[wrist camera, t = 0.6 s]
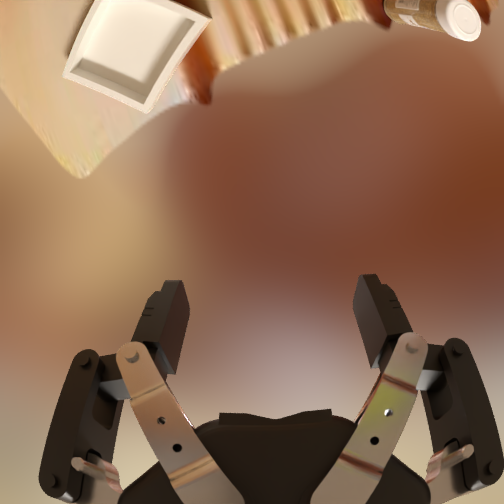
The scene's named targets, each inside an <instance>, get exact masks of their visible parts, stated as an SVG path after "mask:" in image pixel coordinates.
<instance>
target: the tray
mask: <svg viewBox="0 0 504 504" xmlns="http://www.w3.org/2000/svg"><path fill="white" fill-rule="evenodd" d="M211 20H212V18H210V17H208V16H206V15H204V14H202V13H200V12H198V11H196V10H194V9H191V8H189V7H187V6H185V5H183V4H180V3H178V2H176V1H173V0H95V1H94V3H93V5H92V7H91V8H90V10H89V12H88V14H87V16H86V18H85V20H84V22H83V24H82V27H81V29H80V31H79V33H78V35H77V38H76V40H75V42H74V45H73V47H72V50H71V52H70V55H69V58H68V60H67V63H66V66H65V69H64V72H63V74H62V77H64V78H66V79H69V80H71V81H74V82H76V83H79V84H81V85H84V86H86V87H88V88H91V89H93V90H95V91H98V92H100V93H102V94H105V95H107V96H109V97H111V98H114V99H116V100H118V101H120V102H122V103H124V104H127V105H129V106H131V107H133V108H135V109H137V110H139V111H141V112H143V113H145V114H148V113H149V112H150V110H151V109H152V108H153V107H154V106H155V104H156V102H157V101H158V99H159V97H160V95H161V94H162V92H163V90H164V88H165V87H166V85H167V83H168V82H169V80H170V78H171V77H172V75H173V74H174V72H175V70H176V69H177V67H178V66H179V64H180V63H181V61H182V60H183V58H184V57H185V55H186V54H187V52H188V51H189V49H190V48H191V47H192V45H193V44H194V42H195V41H196V40H197V38H198V37H199V36H200V34H201V33H202V32H203V30H204V29H205V28H206V26H207V25H208V24H209V22H210V21H211Z"/></svg>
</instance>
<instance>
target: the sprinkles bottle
mask: <svg viewBox="0 0 504 504" xmlns="http://www.w3.org/2000/svg"><path fill="white" fill-rule="evenodd" d="M384 10H385V12H386V14H387V15H388V16H389V17H390V18H391V19H392V20H393V21H395V22H397V23H400V24H410V25H413V26H418V27H423V28H427V29H432V30H437V31H441V32H445V33H448V34H449V35H451V36H453V37H456V38H458V39H462V40H465V41H473V40H475V39H477V38H478V36H479V35H480V32H481V21H480V17H479V15H478V13H477V11H476V9H475V8H474V7H473V5H472V4H471V3H469V2H468V1H467V0H384Z"/></svg>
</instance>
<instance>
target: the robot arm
mask: <svg viewBox="0 0 504 504" xmlns="http://www.w3.org/2000/svg"><path fill="white" fill-rule="evenodd" d="M353 310H354V314H355V317H356V320H357V323H358V327H359V329H360V333H361V336H362V339H363V343H364V346H365V350H366V353H367V356H368V360H369V363H370V367H371V368H379V369H380V372H381V373H380V374H379V376H378V378H377V381H376V382H375V384H374V386H373V388H372V390H371V392H370V394H369V396H368V398H367V400H366V402H365V404H364V406H363V407H362V409H361V411H360V412H359V414H358V415H357V417H356V419H355V420H354V422H352V421H350V420H348V419H346V418H343V417H339V416H334V415H332V411H331V409H325V410H315V411H305V412H301V413H298V414H294V415H291V416H287V417H284V418H281V419H270V418H265V417H260V416H256V415H251V414H246V413H220V415H219V419H217V420H213V421H209V422H207V423H205V424H202V425H201V426H199V427H197V428H194V426H193V424H192V423H191V422H190V420H189V419H188V417H187V416H186V414H185V413H184V412H183V410H182V408H181V406H180V405H179V403H178V401H177V400H176V398H175V396H174V395H173V393H172V391H171V390H170V388H169V386H168V384H167V382H166V378H167V374H176V370H177V366H178V362H179V357H180V353H181V348H182V345H183V340H184V336H185V332H186V328H187V324H188V320H189V315H190V308H189V302H188V299H187V295H186V292H185V288H184V284H183V282H182V280H166V281H165V282H164V284H163V287H162V289H161V291H155V292H154V293H153V294H152V295H151V297H149V298H148V300H147V303H146V305H145V309H144V310H143V312H142V316H141V318H140V320H139V322H138V325H137V327H136V330H135V332H134V335H133V337H132V340H131V342H129V343H126V344H124V345H123V346H122V347H121V348H120V349H119V350H118V352H117V353H116V354H111V355H105V356H100V357H99V355H98V354H97V353H96V352H95V351H94V350H91V349H86V350H83V351H81V352H79V353H78V354H77V355H76V356H75V357H74V359H73V361H72V364H71V366H70V369H69V371H68V374H67V377H66V380H65V382H64V385H63V388H62V391H61V393H60V397H59V399H58V403H57V405H56V409H55V412H54V415H53V419H52V422H51V425H50V429H49V432H48V436H47V440H46V444H45V448H44V452H43V457H42V461H41V466H40V472H39V483H40V486H41V488H42V490H43V491H44V492H45V493H46V494H47V495H48V496H51V497H53V498H56V499H59V500H62V501H64V502H66V503H69V504H442V503H445V502H447V501H449V500H451V499H453V498H456V497H459V496H462V495H465V494H468V493H471V492H474V491H476V490H479V489H482V488H484V487H487V486H489V485H492V484H494V483H495V482H496V481H498V479H499V478H500V477H501V475H502V473H503V470H504V457H503V452H502V447H501V442H500V438H499V433H498V430H497V426H496V422H495V418H494V415H493V412H492V408H491V405H490V402H489V399H488V395H487V393H486V390H485V387H484V384H483V381H482V379H481V376H480V373H479V371H478V368H477V366H476V363H475V361H474V359H473V356H472V354H471V351H470V349H469V347H468V345H467V344H466V343H465V342H464V341H463V340H461V339H458V338H451V339H449V340H447V342H446V343H445V345H444V346H442V345H434V344H428V343H427V342H426V340H425V339H424V338H423V337H422V336H420V335H419V334H417V333H413V330H412V328H411V326H410V324H409V322H408V319H407V317H406V315H405V313H404V311H403V309H402V308H401V305H400V303H399V301H398V299H397V297H396V295H395V293H394V291H393V290H392V289H391V288H390V287H389V286H388V285H387V284H381V282H380V280H379V278H378V276H377V275H376V274H365V275H360V276H359V278H358V283H357V287H356V291H355V295H354V299H353ZM418 390H420V391H421V395H422V399H423V403H424V407H425V412H426V416H427V420H428V425H429V430H430V435H431V440H432V446H433V452H434V454H433V456H432V457H431V458H430V460H429V462H428V467H427V470H426V471H427V476H426V478H425V480H424V479H423V478H422V477H420V476H419V475H418V474H417V473H415V472H414V471H413V470H411V469H410V468H409V467H407V466H406V465H405V464H404V463H403V462H401V461H400V460H399V459H398V458H397V457H395V456H394V455H393V454H392V452H393V450H394V448H395V446H396V444H397V442H398V440H399V438H400V436H401V434H402V431H403V429H404V427H405V425H406V422H407V420H408V418H409V415H410V413H411V410H412V408H413V405H414V403H415V400H416V397H417V394H418ZM130 398H131V399H130ZM124 399H130V404H131V407H132V409H133V411H134V414H135V415H136V418H137V420H138V422H139V424H140V426H141V428H142V430H143V432H144V434H145V436H146V438H147V440H148V442H149V444H150V446H151V447H152V449H153V451H154V453H155V455H156V457H157V458H158V460H159V461H158V462H157V463H156V464H155V465H153V466H152V467H151V468H150V469H149V470H147V471H146V472H145V473H144V474H143V475H142V476H140V477H139V478H138V479H137V480H135V481H134V482H133V483H132V484H130V485H129V486H128V487H127V488H125V489H124V490H122V488H121V486H120V482H119V480H120V479H119V473H118V471H117V469H116V468H115V467H114V465H112V459H113V453H114V447H115V442H116V436H117V431H118V426H119V421H120V416H121V412H122V407H123V403H124Z"/></svg>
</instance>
